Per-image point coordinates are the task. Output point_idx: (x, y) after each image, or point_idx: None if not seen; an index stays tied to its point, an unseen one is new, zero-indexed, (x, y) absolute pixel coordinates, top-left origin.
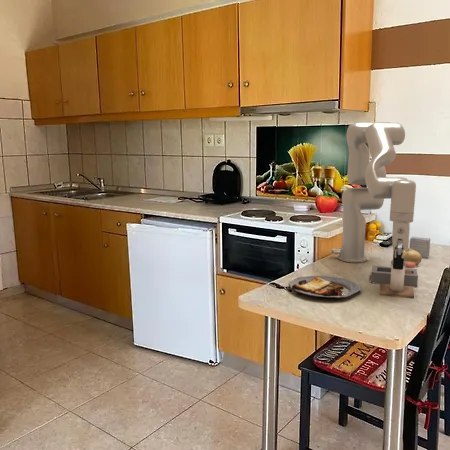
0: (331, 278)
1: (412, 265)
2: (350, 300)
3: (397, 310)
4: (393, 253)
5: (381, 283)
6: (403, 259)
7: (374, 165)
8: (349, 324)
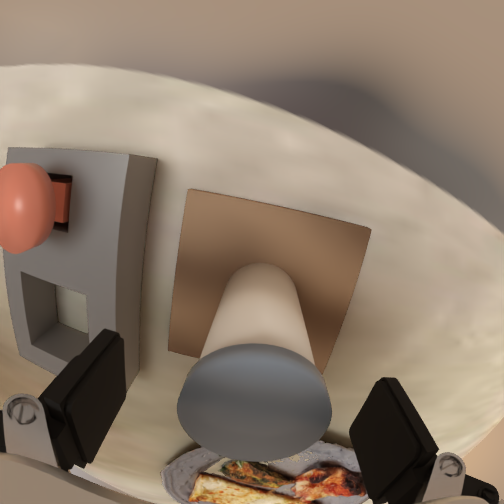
0: (174, 474)
1: (40, 188)
2: None
3: (475, 324)
4: (96, 446)
5: (169, 346)
6: (431, 442)
7: None
8: (496, 415)
